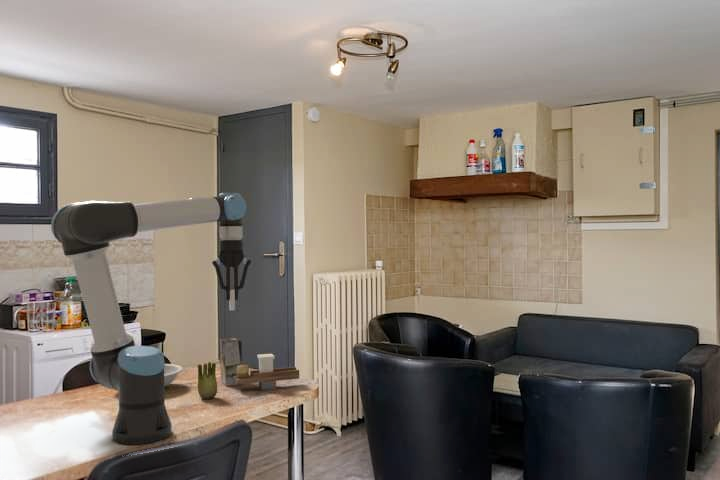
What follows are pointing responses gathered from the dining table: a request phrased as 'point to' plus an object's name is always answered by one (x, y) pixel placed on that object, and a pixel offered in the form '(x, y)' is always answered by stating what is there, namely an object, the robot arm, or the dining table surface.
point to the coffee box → (230, 359)
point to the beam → (265, 376)
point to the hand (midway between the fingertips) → (232, 309)
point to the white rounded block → (265, 362)
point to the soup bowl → (171, 373)
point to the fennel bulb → (207, 381)
